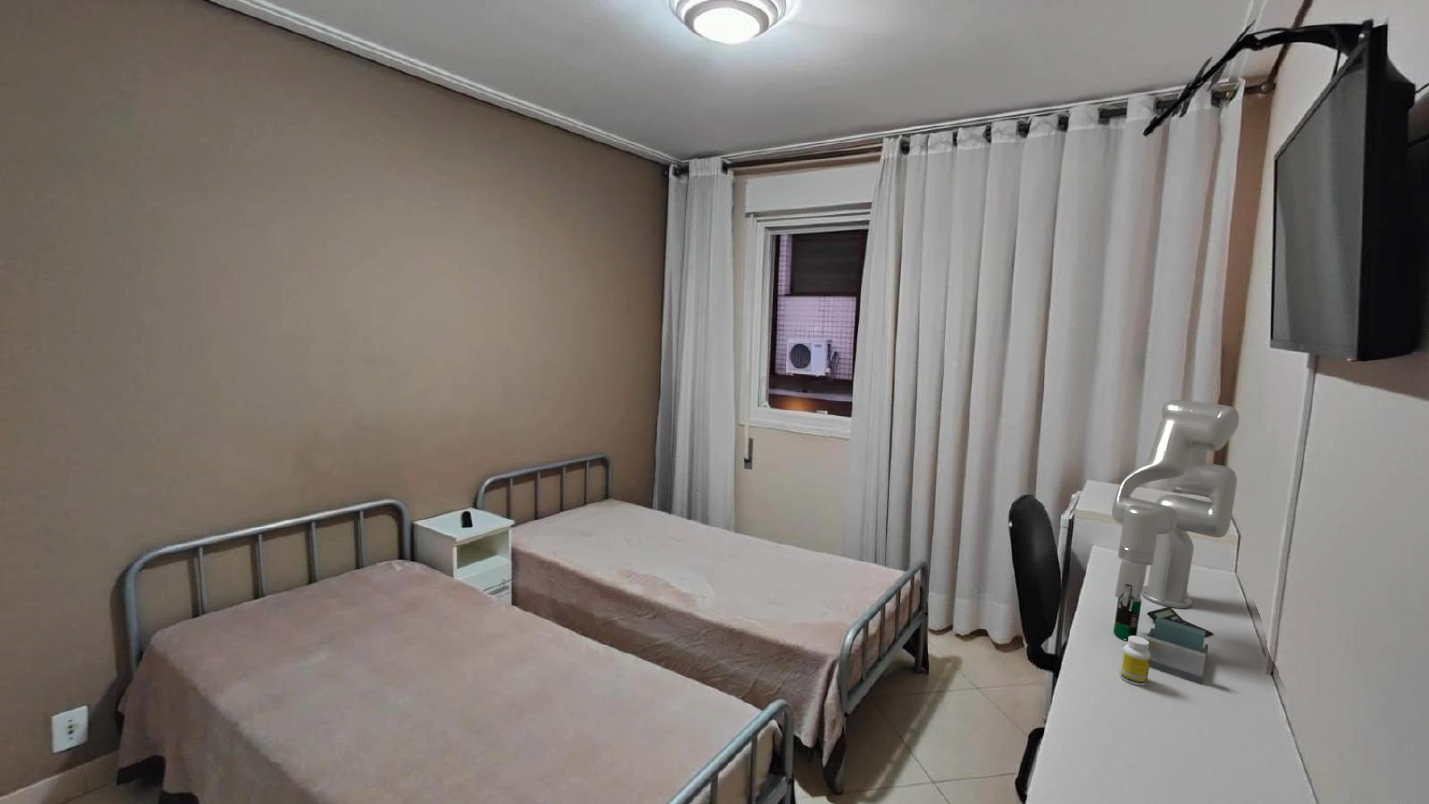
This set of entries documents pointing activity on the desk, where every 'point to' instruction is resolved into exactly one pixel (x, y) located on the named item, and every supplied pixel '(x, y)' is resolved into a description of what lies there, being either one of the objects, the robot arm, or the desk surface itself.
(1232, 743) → the desk surface
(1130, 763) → the desk surface
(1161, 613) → the calculator
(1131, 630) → the soda can
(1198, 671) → the grey tray
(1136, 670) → the supplement bottle
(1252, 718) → the desk surface
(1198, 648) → the block
